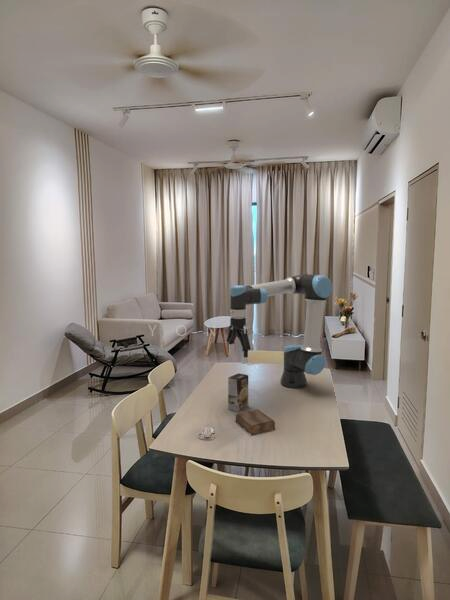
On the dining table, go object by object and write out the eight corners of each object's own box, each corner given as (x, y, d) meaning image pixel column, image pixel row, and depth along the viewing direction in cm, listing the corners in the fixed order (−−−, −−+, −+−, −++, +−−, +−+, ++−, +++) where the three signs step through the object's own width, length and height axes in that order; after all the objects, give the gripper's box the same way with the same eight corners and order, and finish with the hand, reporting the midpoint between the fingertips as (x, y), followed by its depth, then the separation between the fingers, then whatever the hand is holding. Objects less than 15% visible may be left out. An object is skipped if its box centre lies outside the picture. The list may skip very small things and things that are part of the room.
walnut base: (258, 416, 180) (258, 408, 180) (274, 429, 168) (274, 420, 167) (235, 422, 175) (235, 413, 174) (251, 435, 162) (251, 426, 162)
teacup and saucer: (207, 430, 168) (207, 421, 167) (221, 435, 163) (221, 426, 162) (194, 438, 161) (193, 428, 161) (208, 443, 156) (208, 434, 156)
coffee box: (238, 412, 186) (238, 380, 184) (227, 408, 189) (227, 377, 187) (248, 405, 193) (248, 375, 191) (238, 402, 197) (238, 372, 195)
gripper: (219, 314, 195) (220, 354, 197) (243, 322, 173) (243, 367, 175) (233, 313, 198) (233, 353, 201) (258, 320, 176) (257, 365, 179)
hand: (238, 360), depth 188 cm, fingers open, 13 cm apart
